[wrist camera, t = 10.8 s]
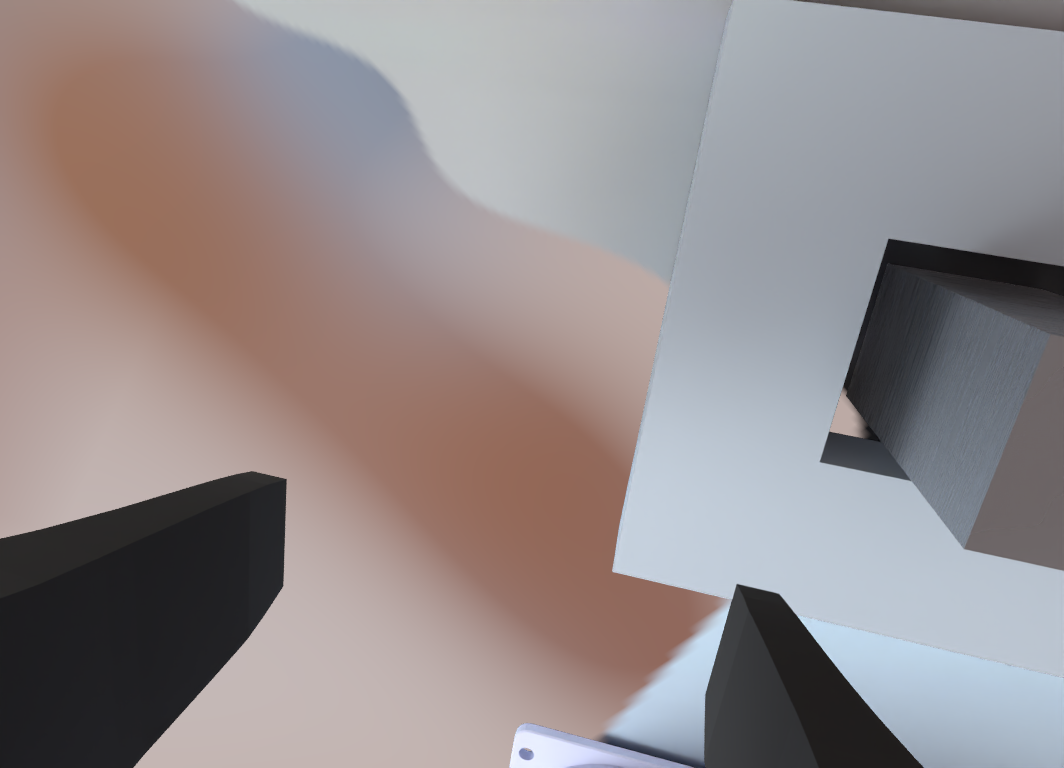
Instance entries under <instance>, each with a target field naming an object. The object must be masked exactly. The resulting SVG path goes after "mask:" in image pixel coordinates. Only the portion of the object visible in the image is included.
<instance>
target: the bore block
mask: <svg viewBox="0 0 1064 768" xmlns="http://www.w3.org/2000/svg"><path fill="white" fill-rule="evenodd" d="M888 238H889V239H895V240H901V241H907V242H914V243H920V244H926V245H933V246H939V247H945V248H951V249H958V250H964V251H970V252H977V253H983V254H989V255H996V256H1002V257H1008V258H1014V259H1021V260H1027V261H1033V262H1040V263H1046V264H1052V265H1059V266H1064V32H1063V31H1054V30H1046V29H1037V28H1028V27H1020V26H1011V25H1002V24H993V23H985V22H976V21H967V20H959V19H950V18H941V17H933V16H924V15H915V14H907V13H898V12H889V11H880V10H872V9H863V8H854V7H846V6H837V5H828V4H820V3H811V2H802V1H794V0H733V1H732V4H731V7H730V9H729V12H728V15H727V18H726V22H725V27H724V31H723V36H722V41H721V46H720V50H719V55H718V60H717V65H716V69H715V74H714V79H713V84H712V88H711V93H710V98H709V103H708V107H707V112H706V117H705V122H704V126H703V131H702V136H701V141H700V145H699V150H698V155H697V160H696V164H695V169H694V174H693V179H692V183H691V188H690V193H689V198H688V202H687V207H686V212H685V217H684V221H683V226H682V231H681V236H680V240H679V245H678V250H677V254H676V259H675V264H674V269H673V273H672V278H671V283H670V288H669V292H668V297H667V302H666V307H665V312H664V316H663V321H662V326H661V330H660V335H659V340H658V345H657V349H656V354H655V359H654V364H653V368H652V373H651V378H650V383H649V387H648V392H647V397H646V402H645V407H644V411H643V416H642V421H641V426H640V430H639V436H638V440H637V444H636V449H635V454H634V459H633V463H632V468H631V473H630V478H629V482H628V487H627V492H626V497H625V501H624V507H623V511H622V516H621V520H620V526H619V531H618V538H617V545H616V552H615V558H614V565H613V572H616V573H620V574H625V575H629V576H633V577H637V578H642V579H646V580H650V581H654V582H659V583H663V584H667V585H672V586H676V587H680V588H684V589H689V590H693V591H697V592H701V593H706V594H710V595H714V596H718V597H722V598H727V599H731V600H732V599H733V595H734V592H735V588H736V584H740V585H744V586H748V587H753V588H757V589H761V590H766V591H770V592H774V593H779V594H780V595H781V597H782V598H783V599H784V600H785V601H786V603H787V604H788V605H789V606H790V608H791V609H792V610H793V612H794V613H795V614H796V615H799V616H803V617H807V618H811V619H816V620H820V621H824V622H828V623H833V624H837V625H841V626H845V627H850V628H854V629H858V630H862V631H867V632H871V633H875V634H879V635H884V636H888V637H892V638H896V639H901V640H905V641H909V642H913V643H918V644H922V645H926V646H930V647H934V648H939V649H943V650H947V651H951V652H956V653H960V654H964V655H968V656H973V657H977V658H981V659H985V660H990V661H994V662H998V663H1002V664H1007V665H1011V666H1015V667H1019V668H1024V669H1028V670H1032V671H1036V672H1041V673H1045V674H1049V675H1053V676H1058V677H1062V678H1064V571H1062V570H1057V569H1053V568H1048V567H1044V566H1039V565H1034V564H1030V563H1025V562H1021V561H1016V560H1011V559H1007V558H1002V557H998V556H993V555H988V554H984V553H979V552H975V551H970V550H965V549H963V547H962V546H961V545H960V543H959V542H958V541H957V540H956V538H955V537H954V536H953V534H952V533H951V532H950V530H949V529H948V528H947V527H946V525H945V524H944V523H943V521H942V520H941V519H940V517H939V516H938V515H937V514H936V512H935V511H934V510H933V508H932V507H931V506H930V504H929V503H928V502H927V500H926V499H925V498H924V497H923V495H922V494H921V493H920V491H919V490H918V489H917V487H916V486H915V485H914V484H913V482H912V481H911V480H910V478H909V477H908V476H907V474H906V473H905V472H904V471H903V469H902V468H901V467H900V465H899V464H898V463H897V461H896V460H895V459H894V457H893V456H892V455H891V454H890V452H889V451H888V450H887V448H886V447H885V446H884V444H883V443H882V442H878V441H873V440H868V439H863V438H858V437H853V436H848V435H843V434H838V433H832V432H829V430H830V426H831V423H832V420H833V417H834V413H835V411H836V407H837V404H838V401H839V398H840V394H841V391H842V388H843V385H844V381H845V378H846V375H847V372H848V368H849V365H850V362H851V359H852V355H853V352H854V349H855V346H856V342H857V339H858V336H859V333H860V329H861V326H862V323H863V320H864V316H865V313H866V310H867V307H868V303H869V300H870V297H871V294H872V290H873V287H874V284H875V281H876V277H877V274H878V271H879V268H880V264H881V261H882V258H883V255H884V251H885V248H886V245H887V242H888Z"/></svg>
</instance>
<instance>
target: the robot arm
mask: <svg viewBox="0 0 1064 768" xmlns="http://www.w3.org/2000/svg"><path fill="white" fill-rule="evenodd" d="M285 511H286V479H283V478H279V477H275V476H270V475H266V474H261V473H257V472H252V471H251V472H246V473H241V474H236V475H232V476H228V477H224V478H220V479H217V480H213V481H209V482H206V483H203V484H199V485H196V486H192V487H189V488H186V489H182V490H179V491H176V492H173V493H169V494H166V495H162V496H159V497H156V498H152V499H149V500H146V501H142V502H139V503H136V504H132V505H129V506H126V507H122V508H119V509H115V510H112V511H108V512H105V513H100V514H97V515H93V516H89V517H86V518H82V519H79V520H74V521H71V522H67V523H63V524H60V525H56V526H53V527H49V528H45V529H41V530H36V531H33V532H28V533H24V534H20V535H15V536H10V537H6V538H1V539H0V768H133V767H134V766H135V765H136V763H138V761H139V760H140V759H141V758H142V757H143V755H144V754H145V753H146V752H147V751H148V750H149V749H150V748H151V747H152V745H153V744H154V743H155V742H156V741H157V740H158V739H159V738H160V737H161V735H162V734H163V733H164V732H165V731H166V730H167V729H168V728H169V727H170V725H171V724H172V723H173V722H174V721H175V720H176V719H177V718H178V717H179V715H180V714H181V713H182V712H183V711H184V710H185V709H186V708H187V707H188V705H189V704H190V703H191V702H192V701H193V700H194V699H195V698H196V696H197V695H198V694H199V693H200V692H201V691H202V690H203V689H204V688H205V687H206V685H207V684H208V683H209V682H210V681H211V680H212V679H213V678H214V676H215V675H216V674H217V673H218V672H219V671H220V670H221V668H222V667H223V666H224V665H225V664H226V663H227V662H228V661H229V660H230V658H231V657H232V656H233V655H234V654H235V653H236V652H237V650H238V649H239V648H240V647H241V646H242V645H243V643H244V642H245V641H246V640H247V639H248V638H249V636H250V635H251V633H252V632H253V630H254V629H255V628H256V626H257V625H258V623H259V622H260V620H261V619H262V618H263V616H264V615H265V613H266V612H267V610H268V609H269V607H270V606H271V604H272V603H273V601H274V600H275V598H276V597H277V595H278V593H279V592H280V590H281V589H282V587H283V576H284V546H285V545H284V544H285V513H286V512H285ZM524 748H528V749H530V750H532V751H527V750H525V749H524ZM704 761H705V768H924V767H923V766H922V765H921V764H920V763H919V762H918V761H917V760H916V759H915V758H914V757H913V756H912V754H911V753H910V752H909V751H908V750H907V749H906V748H905V747H904V746H903V744H902V743H901V742H900V741H899V740H898V739H897V738H896V737H895V736H894V735H893V733H892V732H891V731H890V730H889V729H888V728H887V727H886V726H885V725H884V724H883V722H882V721H881V720H880V719H879V718H878V717H877V715H876V714H875V713H874V712H873V711H872V710H871V708H870V707H869V706H868V705H867V704H866V703H865V701H864V700H863V699H862V698H861V697H860V695H859V694H858V693H857V692H856V691H855V689H854V688H853V687H852V686H851V685H850V683H849V682H848V681H847V680H846V678H845V677H844V676H843V675H842V673H841V672H840V671H839V670H838V668H837V667H836V666H835V665H834V663H833V662H832V661H831V660H830V658H829V657H828V656H827V654H826V653H825V652H824V651H823V649H822V648H821V647H820V645H819V644H818V643H817V642H816V640H815V639H814V638H813V636H812V635H811V634H810V632H809V631H808V630H807V629H806V627H805V626H804V625H803V623H802V622H801V621H800V619H799V618H798V617H797V615H796V614H795V613H794V612H793V610H792V609H791V608H790V606H789V605H788V604H787V603H786V601H785V600H784V599H783V598H782V597H781V595H780V594H779V593H774V592H770V591H766V590H761V589H757V588H753V587H748V586H744V585H740V584H736V588H735V592H734V595H733V599H732V602H731V606H730V609H729V613H728V616H727V620H726V623H725V627H724V631H723V634H722V638H721V641H720V645H719V648H718V652H717V655H716V659H715V662H714V666H713V669H712V673H711V677H710V680H709V684H708V687H707V691H706V695H705V750H704ZM510 768H694V767H690V766H687V765H683V764H679V763H676V762H672V761H668V760H665V759H661V758H657V757H653V756H650V755H646V754H642V753H639V752H635V751H631V750H628V749H624V748H620V747H617V746H613V745H609V744H606V743H602V742H598V741H594V740H591V739H587V738H583V737H580V736H576V735H572V734H569V733H565V732H561V731H558V730H554V729H550V728H546V727H543V726H539V725H535V724H531V723H525V724H522V725H520V726H519V727H518V729H517V731H516V735H515V738H514V744H513V750H512V756H511V761H510Z"/></svg>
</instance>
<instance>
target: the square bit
mask: <svg viewBox="0 0 1064 768" xmlns="http://www.w3.org/2000/svg"><path fill="white" fill-rule="evenodd" d="M846 396H847V398H848V399H849V400H850V401H851V403H852V404H853V405H854V407H855V408H856V409H857V411H858V412H859V413H860V414H861V416H862V417H863V418H864V420H865V421H866V422H867V424H868V425H869V426H870V428H871V429H872V430H873V431H874V433H875V434H876V435H877V437H878V438H879V439H880V441H881V442H882V443H883V444H884V446H885V447H886V448H887V450H888V451H889V452H890V454H891V455H892V456H893V457H894V459H895V460H896V461H897V463H898V464H899V465H900V467H901V468H902V469H903V471H904V472H905V473H906V474H907V476H908V477H909V478H910V480H911V481H912V482H913V484H914V485H915V486H916V487H917V489H918V490H919V491H920V493H921V494H922V495H923V497H924V498H925V499H926V500H927V502H928V503H929V504H930V506H931V507H932V508H933V510H934V511H935V512H936V514H937V515H938V516H939V517H940V519H941V520H942V521H943V523H944V524H945V525H946V527H947V528H948V529H949V530H950V532H951V533H952V534H953V536H954V537H955V538H956V540H957V541H958V542H959V543H960V545H961V546H962V547H963V549H965V550H970V551H975V552H979V553H984V554H988V555H993V556H998V557H1002V558H1007V559H1011V560H1016V561H1021V562H1025V563H1030V564H1034V565H1039V566H1044V567H1048V568H1053V569H1057V570H1062V571H1064V296H1061V295H1058V294H1055V293H1052V292H1048V291H1045V290H1042V289H1038V288H1032V287H1026V286H1020V285H1014V284H1008V283H1002V282H996V281H990V280H984V279H978V278H972V277H966V276H960V275H954V274H948V273H942V272H936V271H930V270H924V269H917V268H911V267H905V266H899V265H893V264H887V267H886V270H885V273H884V276H883V280H882V283H881V286H880V289H879V292H878V296H877V299H876V302H875V305H874V308H873V312H872V315H871V318H870V321H869V324H868V328H867V331H866V334H865V337H864V340H863V344H862V347H861V350H860V353H859V356H858V360H857V363H856V366H855V369H854V372H853V376H852V379H851V382H850V385H849V388H848V392H847V395H846Z"/></svg>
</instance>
